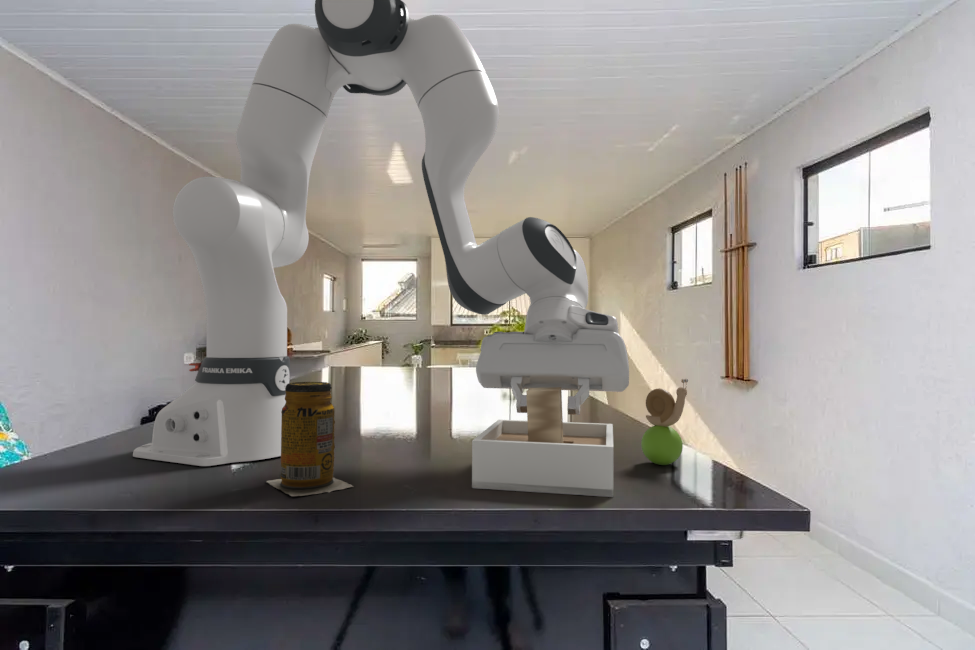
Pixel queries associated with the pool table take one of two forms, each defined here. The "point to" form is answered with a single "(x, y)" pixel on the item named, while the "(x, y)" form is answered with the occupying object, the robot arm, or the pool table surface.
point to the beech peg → (545, 415)
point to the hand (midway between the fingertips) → (547, 411)
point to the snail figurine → (663, 426)
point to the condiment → (307, 441)
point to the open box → (544, 459)
